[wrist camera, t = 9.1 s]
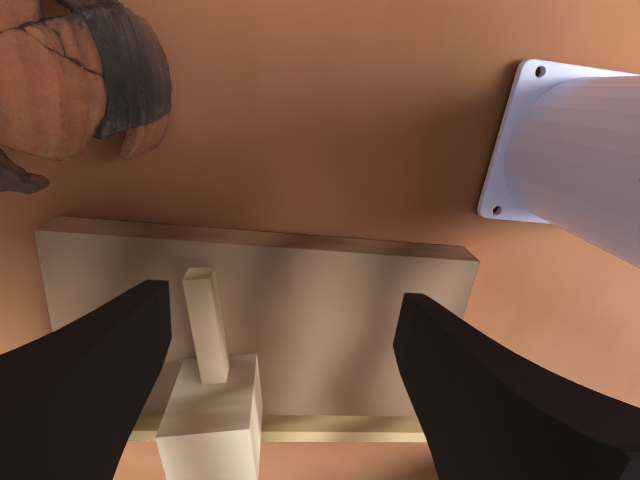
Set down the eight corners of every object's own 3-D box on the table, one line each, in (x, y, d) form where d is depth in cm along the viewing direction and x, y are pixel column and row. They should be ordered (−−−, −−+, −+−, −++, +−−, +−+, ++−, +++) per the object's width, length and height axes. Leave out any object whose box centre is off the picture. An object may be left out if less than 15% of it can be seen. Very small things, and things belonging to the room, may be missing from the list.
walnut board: (463, 246, 22) (494, 274, 18) (418, 403, 26) (437, 447, 23) (57, 216, 19) (11, 242, 16) (86, 397, 23) (54, 446, 20)
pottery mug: (158, 205, 20) (-33, 265, 13) (41, 103, 21) (-189, 107, 14) (241, -46, 13) (-48, -196, 6) (67, -168, 15) (-326, -401, 8)
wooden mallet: (246, 256, 18) (233, 313, 14) (262, 406, 22) (257, 489, 18) (163, 261, 18) (123, 320, 14) (195, 412, 22) (171, 498, 17)
